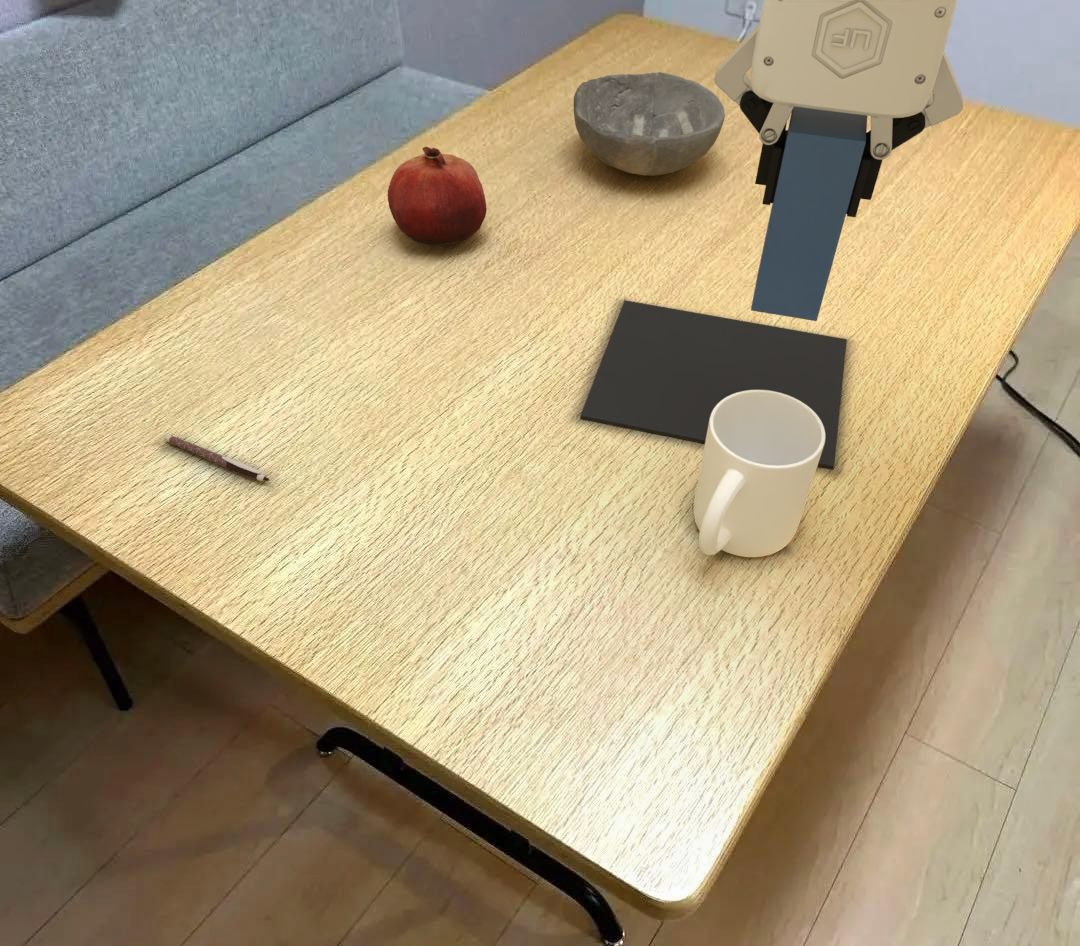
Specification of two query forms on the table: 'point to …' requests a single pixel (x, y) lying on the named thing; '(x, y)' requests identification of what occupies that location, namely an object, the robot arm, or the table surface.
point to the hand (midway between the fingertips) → (810, 197)
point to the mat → (709, 371)
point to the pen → (218, 459)
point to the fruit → (437, 198)
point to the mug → (756, 472)
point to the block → (808, 211)
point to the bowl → (647, 121)
